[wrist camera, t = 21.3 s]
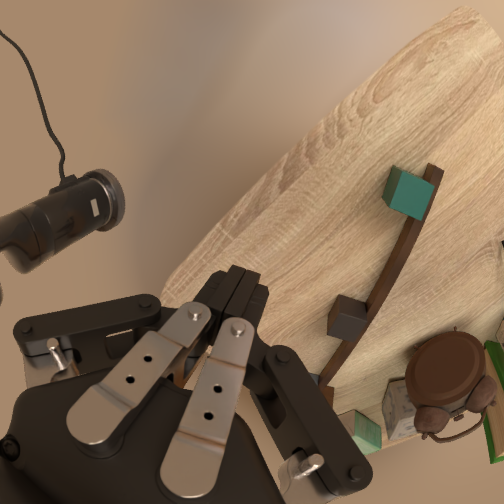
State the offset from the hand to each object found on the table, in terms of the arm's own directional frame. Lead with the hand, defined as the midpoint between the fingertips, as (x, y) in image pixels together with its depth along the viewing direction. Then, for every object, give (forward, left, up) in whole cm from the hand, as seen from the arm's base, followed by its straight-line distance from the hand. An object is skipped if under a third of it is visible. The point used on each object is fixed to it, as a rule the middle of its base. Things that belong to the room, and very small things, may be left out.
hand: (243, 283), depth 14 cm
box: (+53, -22, -23) cm, 62 cm away
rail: (+22, -4, -23) cm, 32 cm away
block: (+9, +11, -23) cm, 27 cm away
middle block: (+20, -6, -23) cm, 31 cm away
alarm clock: (+37, +4, -23) cm, 44 cm away
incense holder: (+46, -7, -23) cm, 52 cm away
